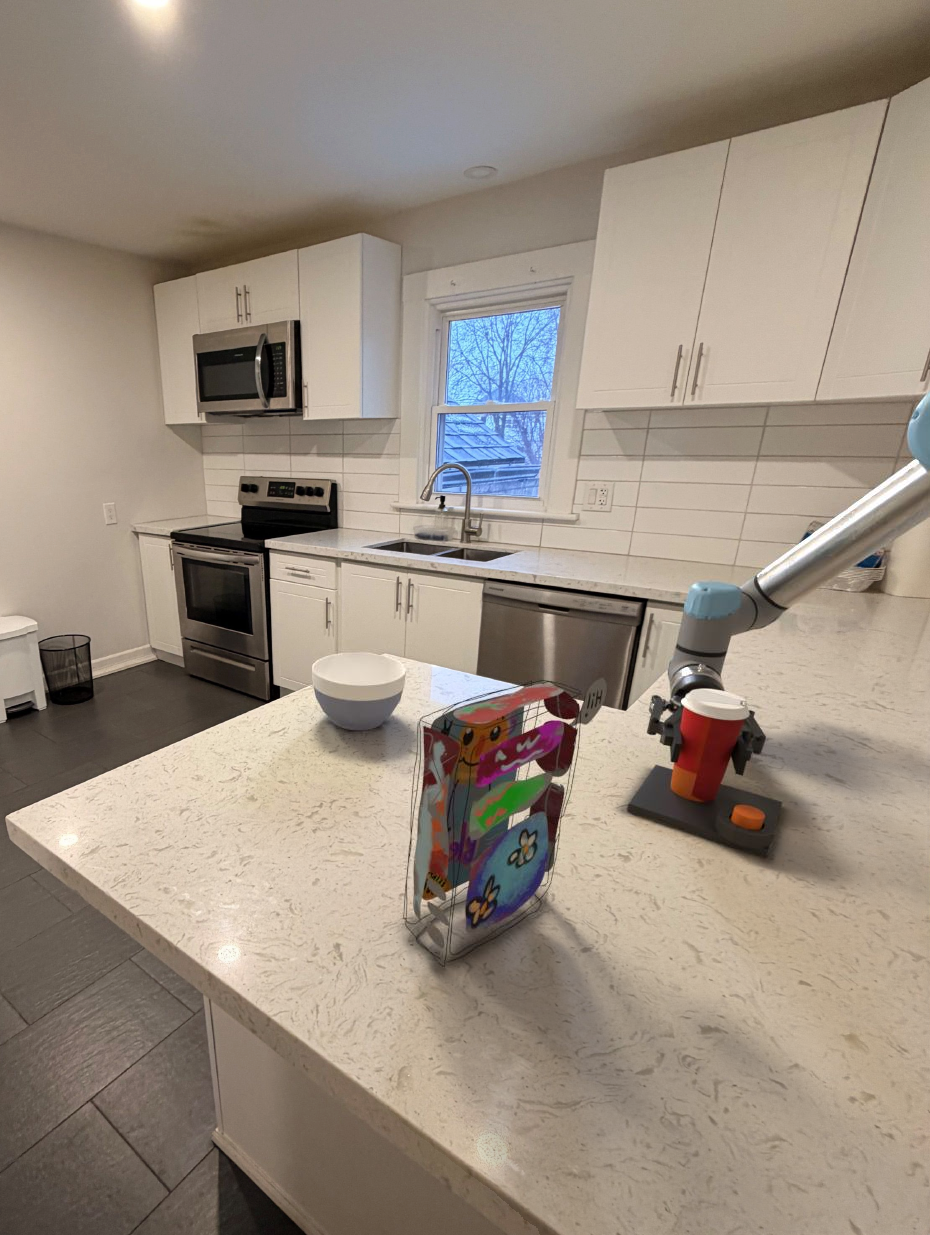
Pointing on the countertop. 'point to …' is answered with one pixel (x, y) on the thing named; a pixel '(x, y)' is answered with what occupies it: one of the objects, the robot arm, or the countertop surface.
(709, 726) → the paper cup
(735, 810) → the tare button
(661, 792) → the scale
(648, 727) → the robot arm
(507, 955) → the countertop surface
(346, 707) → the bowl
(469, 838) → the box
